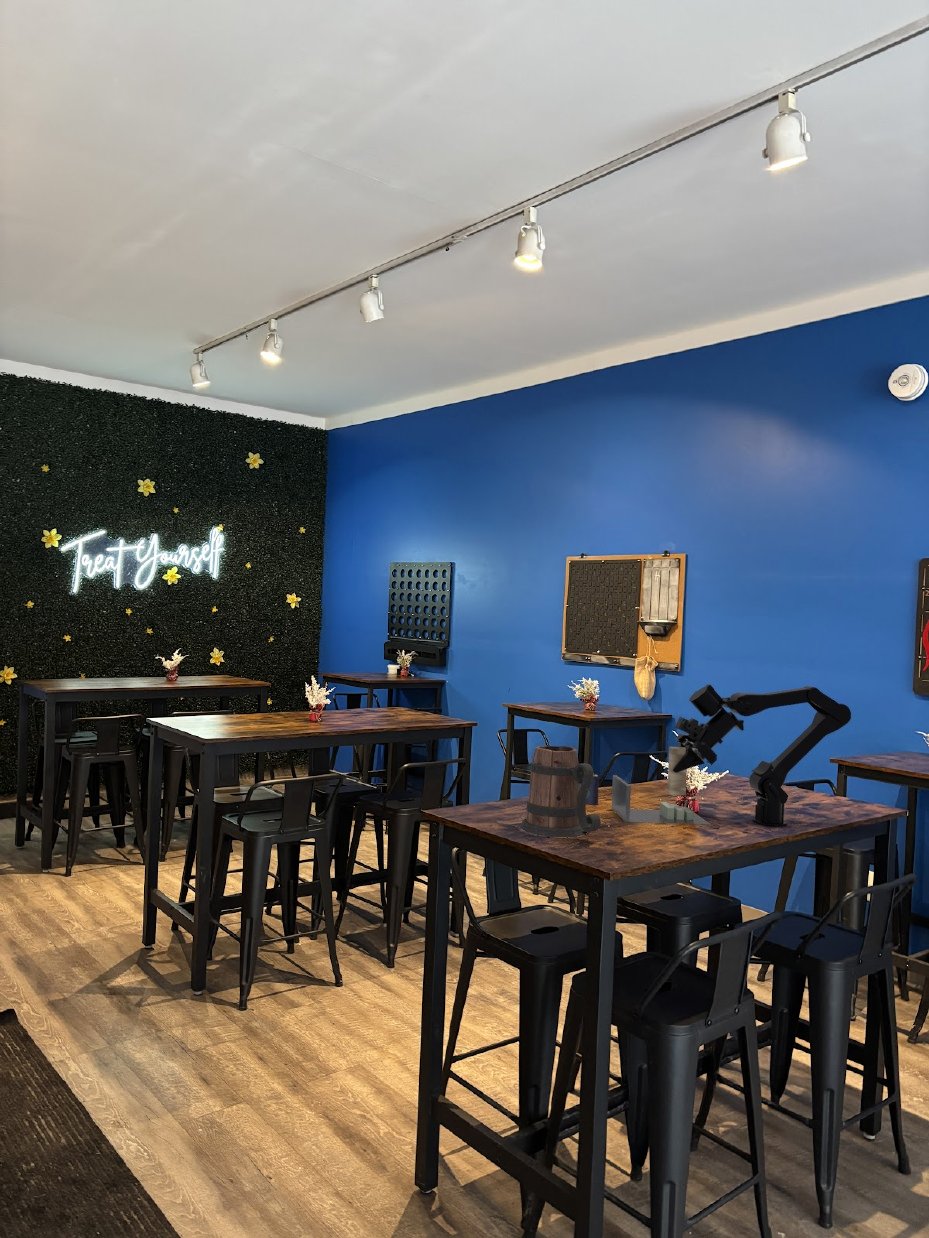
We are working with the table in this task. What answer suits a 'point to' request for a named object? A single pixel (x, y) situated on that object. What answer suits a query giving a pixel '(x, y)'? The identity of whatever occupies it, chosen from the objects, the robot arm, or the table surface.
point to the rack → (622, 808)
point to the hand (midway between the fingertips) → (672, 770)
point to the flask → (592, 791)
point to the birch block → (676, 779)
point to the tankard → (559, 794)
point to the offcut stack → (675, 812)
